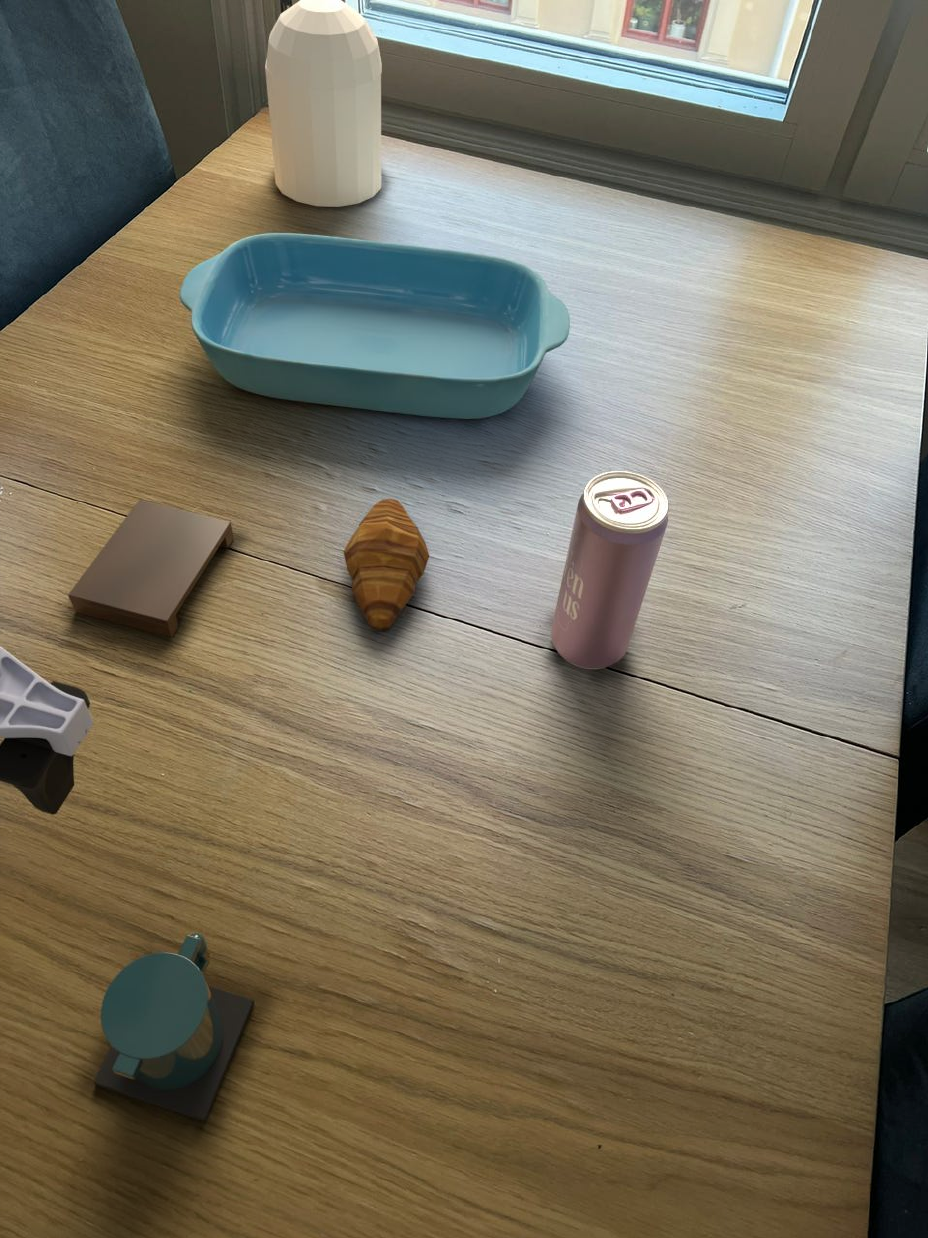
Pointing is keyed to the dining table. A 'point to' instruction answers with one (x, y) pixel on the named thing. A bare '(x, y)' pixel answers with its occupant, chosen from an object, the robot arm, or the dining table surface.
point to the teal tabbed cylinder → (164, 1017)
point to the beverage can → (608, 567)
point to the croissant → (385, 562)
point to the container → (325, 104)
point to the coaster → (201, 1092)
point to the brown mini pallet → (150, 567)
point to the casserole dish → (374, 324)
